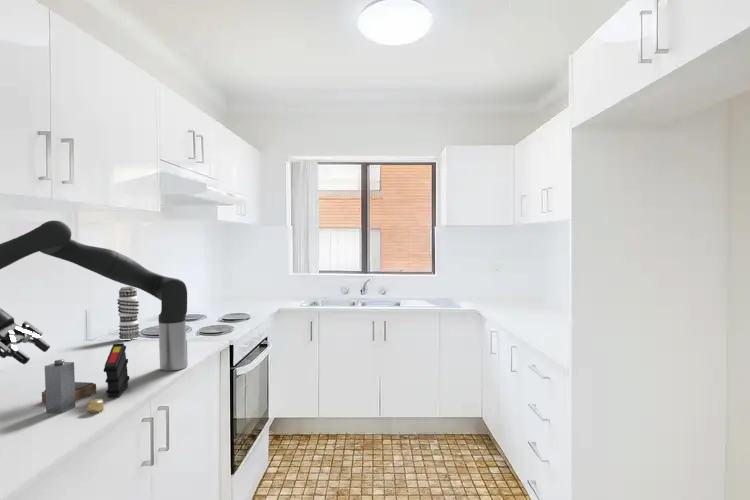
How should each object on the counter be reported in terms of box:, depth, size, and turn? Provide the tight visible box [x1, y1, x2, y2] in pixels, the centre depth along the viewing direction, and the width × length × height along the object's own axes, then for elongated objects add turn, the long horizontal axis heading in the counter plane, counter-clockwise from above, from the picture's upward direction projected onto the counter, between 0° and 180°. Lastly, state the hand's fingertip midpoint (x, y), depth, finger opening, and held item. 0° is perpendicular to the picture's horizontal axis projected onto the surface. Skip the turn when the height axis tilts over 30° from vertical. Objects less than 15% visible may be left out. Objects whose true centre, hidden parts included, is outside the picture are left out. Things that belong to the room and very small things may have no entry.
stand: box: [41, 381, 97, 403], centre depth 154 cm, size 10×10×3 cm
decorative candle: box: [116, 286, 140, 340], centre depth 242 cm, size 9×9×25 cm
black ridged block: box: [103, 343, 130, 399], centre depth 158 cm, size 4×13×15 cm, turn 12°
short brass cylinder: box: [86, 398, 105, 415], centre depth 142 cm, size 4×4×3 cm
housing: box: [44, 359, 76, 414], centre depth 143 cm, size 5×5×14 cm
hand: (37, 355), depth 141 cm, fingers open, 8 cm apart
